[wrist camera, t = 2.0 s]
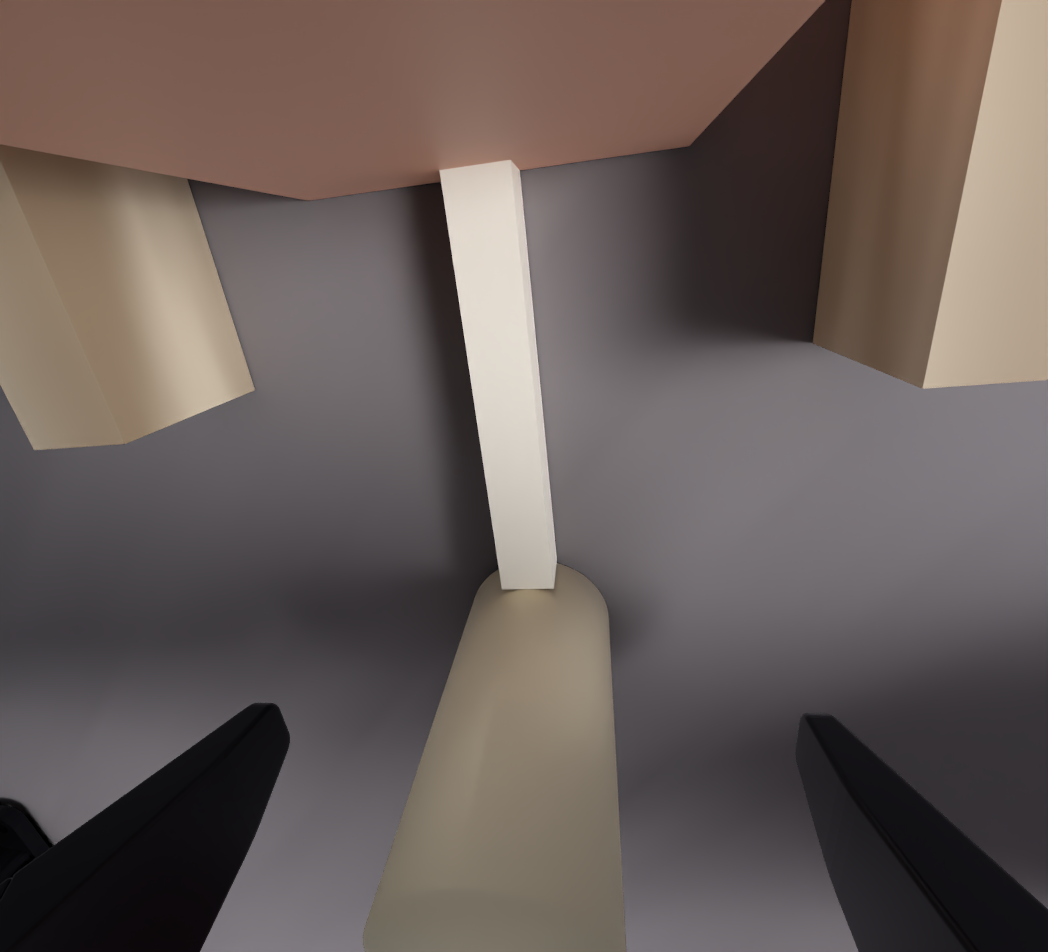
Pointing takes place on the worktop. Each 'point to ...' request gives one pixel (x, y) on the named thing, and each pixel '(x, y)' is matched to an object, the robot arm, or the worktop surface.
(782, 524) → the worktop surface
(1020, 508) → the worktop surface
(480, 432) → the toy mallet
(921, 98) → the beige frame
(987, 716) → the worktop surface
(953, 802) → the worktop surface
